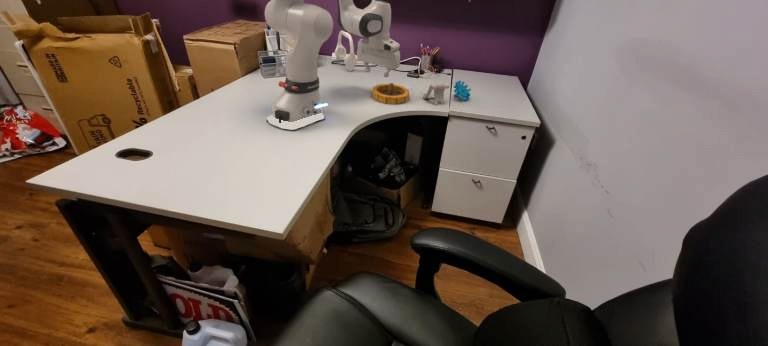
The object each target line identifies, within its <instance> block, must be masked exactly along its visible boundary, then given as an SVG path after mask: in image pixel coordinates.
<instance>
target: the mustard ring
mask: <svg viewBox="0 0 768 346" xmlns="http://www.w3.org/2000/svg"><path fill="white" fill-rule="evenodd" d="M384 90H389V83H380V84H376V85H374V86H373V87H372V91H371V98H372V99H374V100H375V101H377V102H380V103H383V104H387V105H399V104H404V103H406V102H407V101H409V99H410V90H409V88H406V87H405V86H403V85H399V84H396V83H394V86H393V91H397V92H399V93H401V95H398V96H389V95H384V94H381V93H380V92H381V91H384Z"/></svg>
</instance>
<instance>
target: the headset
mask: <svg viewBox="0 0 768 346" xmlns="http://www.w3.org/2000/svg"><path fill="white" fill-rule="evenodd" d="M343 36H344V37H345V38H346V39H348V41H349V51H350V52H349V53H347V48H346V47H345V46H343V43H342V38H343ZM334 56H335V59H332V60H333V61H332V62H335V63H336V62H339V61H342V60H344V62H343V63H344V65H345V67H346V68H348V69H347V70H348V72H352V71H354V70H355V66H356V64H357V61H358V59H357V55H356V54H355V48H354V41H353V38H352V35H351V33H347V32H344V31H343V30H339V33H338V38H337V43H336V48H335V50H334Z"/></svg>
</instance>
